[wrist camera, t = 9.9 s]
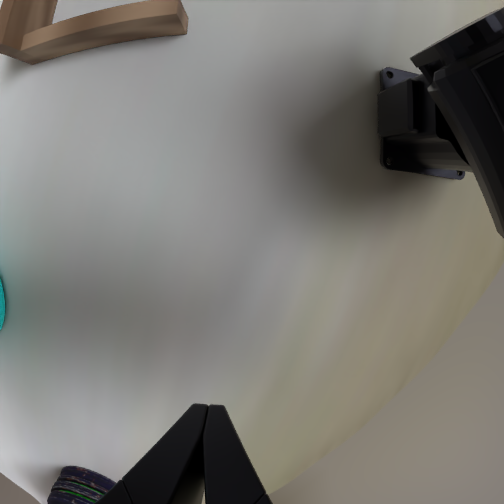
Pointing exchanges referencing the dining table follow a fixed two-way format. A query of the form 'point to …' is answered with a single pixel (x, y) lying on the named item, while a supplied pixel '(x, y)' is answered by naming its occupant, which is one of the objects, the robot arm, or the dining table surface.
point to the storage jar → (79, 486)
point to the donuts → (2, 305)
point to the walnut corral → (82, 27)
